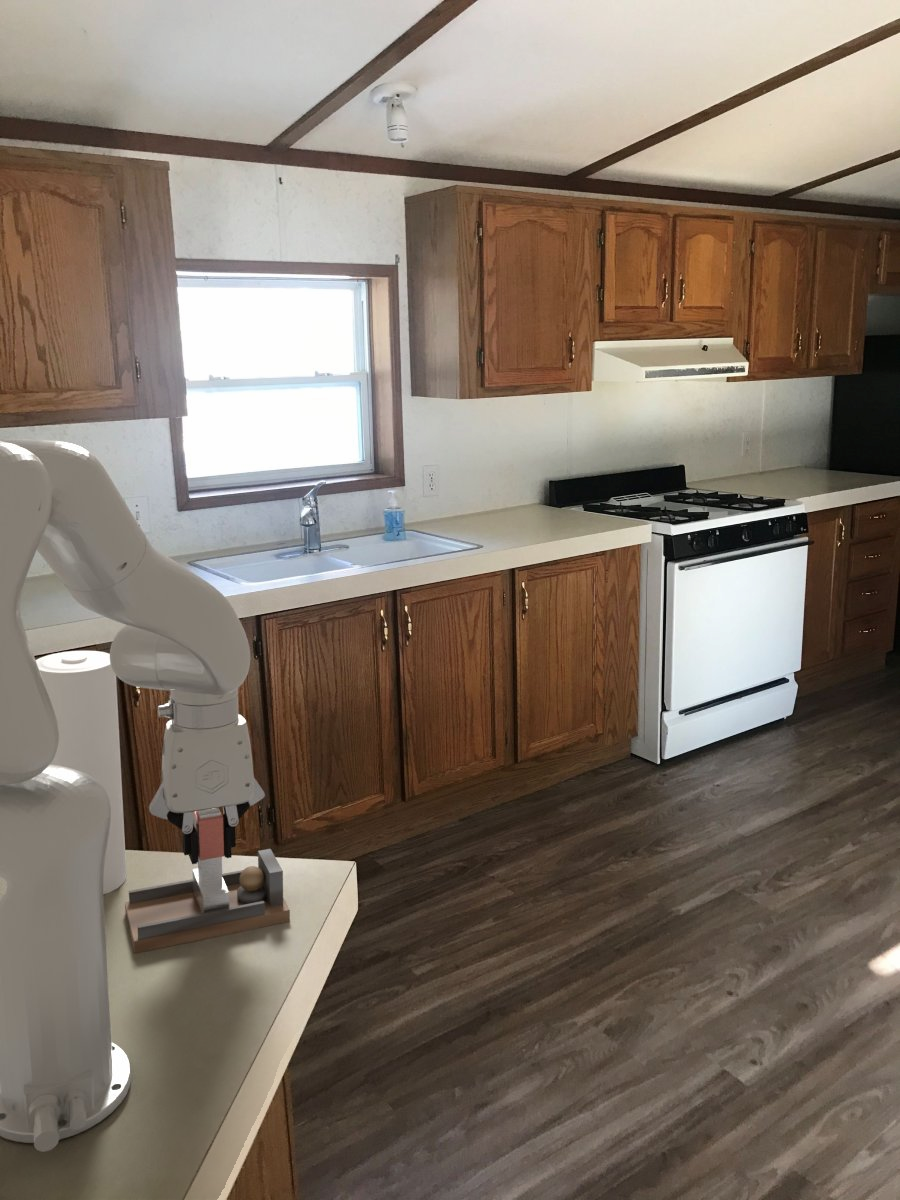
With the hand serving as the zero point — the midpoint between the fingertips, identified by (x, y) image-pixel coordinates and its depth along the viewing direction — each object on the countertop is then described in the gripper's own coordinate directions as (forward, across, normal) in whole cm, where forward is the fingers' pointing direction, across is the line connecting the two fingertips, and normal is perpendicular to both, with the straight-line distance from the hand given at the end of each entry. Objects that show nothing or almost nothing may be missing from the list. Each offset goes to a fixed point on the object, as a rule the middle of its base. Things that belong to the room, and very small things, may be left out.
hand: (209, 854), depth 116 cm
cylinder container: (+8, -13, +14) cm, 21 cm away
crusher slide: (+6, 0, 0) cm, 6 cm away
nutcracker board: (+8, 0, 0) cm, 8 cm away
